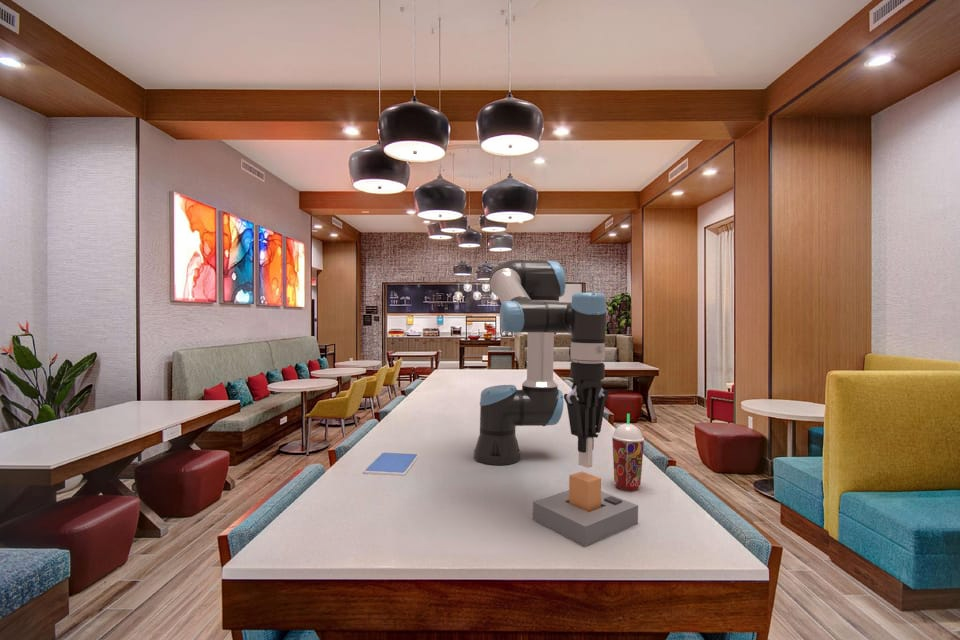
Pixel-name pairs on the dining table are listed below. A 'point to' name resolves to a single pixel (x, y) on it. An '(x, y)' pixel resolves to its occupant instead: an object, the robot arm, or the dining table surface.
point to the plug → (585, 491)
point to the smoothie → (627, 456)
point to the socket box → (585, 517)
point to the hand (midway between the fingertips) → (585, 465)
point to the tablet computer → (391, 464)
